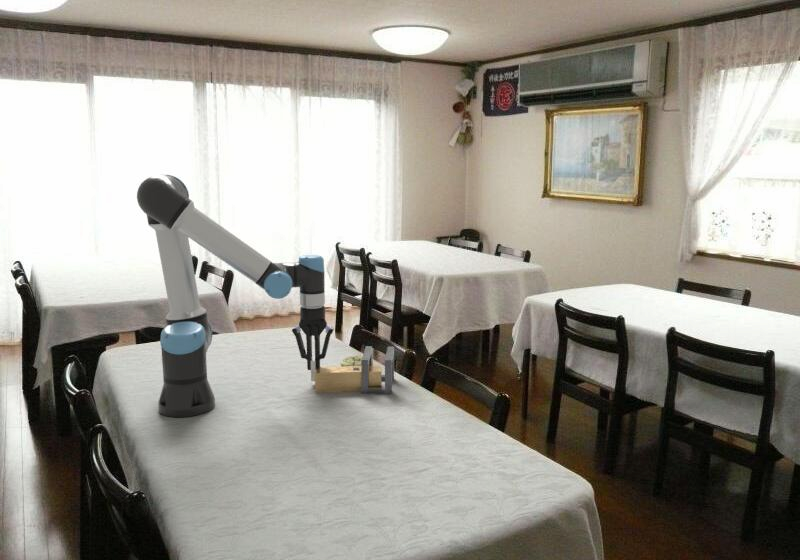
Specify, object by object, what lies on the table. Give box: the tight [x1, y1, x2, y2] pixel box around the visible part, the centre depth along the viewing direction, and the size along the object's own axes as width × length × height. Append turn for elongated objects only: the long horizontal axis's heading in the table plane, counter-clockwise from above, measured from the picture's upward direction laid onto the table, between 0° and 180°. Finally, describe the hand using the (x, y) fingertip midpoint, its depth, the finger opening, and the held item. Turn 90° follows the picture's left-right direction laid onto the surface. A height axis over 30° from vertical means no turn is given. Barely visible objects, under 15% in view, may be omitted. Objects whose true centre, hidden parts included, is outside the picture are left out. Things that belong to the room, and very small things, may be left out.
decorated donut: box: [340, 354, 374, 366], centre depth 219 cm, size 10×11×4 cm
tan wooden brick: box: [314, 365, 382, 393], centre depth 200 cm, size 20×6×6 cm, turn 95°
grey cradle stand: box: [361, 345, 395, 395], centre depth 202 cm, size 14×9×10 cm, turn 178°
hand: (314, 379), depth 203 cm, fingers closed
